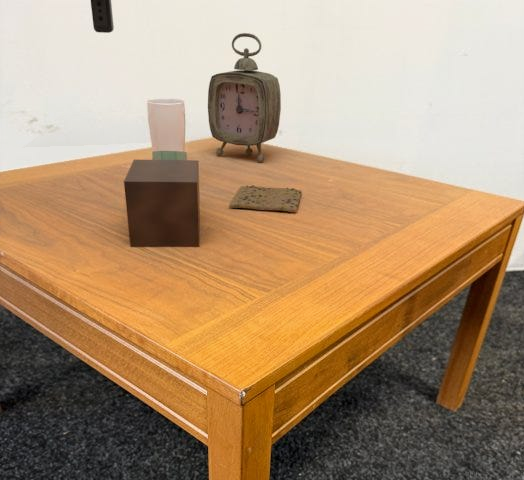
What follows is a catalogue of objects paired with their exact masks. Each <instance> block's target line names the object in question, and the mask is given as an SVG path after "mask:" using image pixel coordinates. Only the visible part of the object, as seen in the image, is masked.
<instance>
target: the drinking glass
mask: <svg viewBox="0 0 524 480" xmlns="http://www.w3.org/2000/svg"><path fill="white" fill-rule="evenodd" d="M146 103H147V105H146V106H147V107H146V109H147V125H148V130H149V137H150V143H151V151H152V152H153V151H181V152H186V151H185V147H186V108H185V107H186V106H185V100H183V99H180V98H171V97H160V98H159V97H157V98H150V99H148V100H147V101H146Z"/></svg>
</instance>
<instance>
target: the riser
mask: <svg viewBox="0 0 524 480" xmlns="http://www.w3.org/2000/svg"><path fill="white" fill-rule="evenodd" d="M199 162H200V161H199V160H197V159H196V160H195V159H193V160H192V159H190V160H188V159H187V160H153V159H133V160H132V163H131V164H130V167H129V169H128V171H127V174H126V176H125V178H124V180H123V186H124V187H123V188H124V199H125V207H126V216H127V217H126V219H127V227H128V236H129V244H130V245H129V246H130V247H200V237H201V236H200V235H201V234H200V233H201V202H200V201H201V197H200V196H201V195H200V168H199V167H200V166H199V165H200V163H199Z"/></svg>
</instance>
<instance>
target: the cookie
mask: <svg viewBox="0 0 524 480" xmlns="http://www.w3.org/2000/svg"><path fill="white" fill-rule="evenodd" d="M302 193H303V192H302V189H296V188H294V187H293V188H289V187H263V186H255V185H250V186H249V185H242V186H240V187H239V188H238V190H237V191H236V194H235V195H234V196H233V198H232V200H231V201H230V203H229V204H228V207H229V208H231V209H233V208H235V209H237V208H239V209H240V208H241V209H251V210H261V211H281V212H282V211H283V212H289V213H295V214H296V213H297V211H298V208H299V206H300V203H301V202H300V200H301V197H302V195H303V194H302Z"/></svg>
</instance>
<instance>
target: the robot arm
mask: <svg viewBox="0 0 524 480" xmlns="http://www.w3.org/2000/svg"><path fill="white" fill-rule="evenodd" d="M90 8H91V17H92V26H93V30H94V31H95V32H96V33H103V34H105V33H112V32H113V31H114V29H115V26H114V18H113V9H112V8H113V5H112V0H90Z"/></svg>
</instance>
